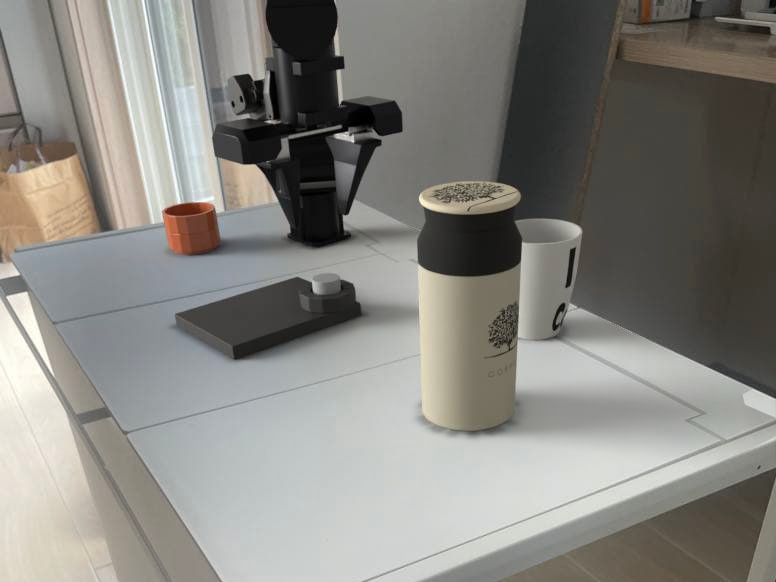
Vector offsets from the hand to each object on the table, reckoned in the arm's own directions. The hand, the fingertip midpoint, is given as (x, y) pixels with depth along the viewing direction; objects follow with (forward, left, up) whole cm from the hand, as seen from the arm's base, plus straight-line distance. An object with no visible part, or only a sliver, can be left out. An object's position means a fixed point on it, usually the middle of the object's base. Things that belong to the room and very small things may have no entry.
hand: (320, 221), depth 85 cm
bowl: (-1, -32, -10) cm, 34 cm away
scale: (+6, -3, -10) cm, 12 cm away
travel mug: (+5, +27, -10) cm, 29 cm away
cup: (-12, +19, -10) cm, 25 cm away
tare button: (0, 0, -7) cm, 7 cm away
